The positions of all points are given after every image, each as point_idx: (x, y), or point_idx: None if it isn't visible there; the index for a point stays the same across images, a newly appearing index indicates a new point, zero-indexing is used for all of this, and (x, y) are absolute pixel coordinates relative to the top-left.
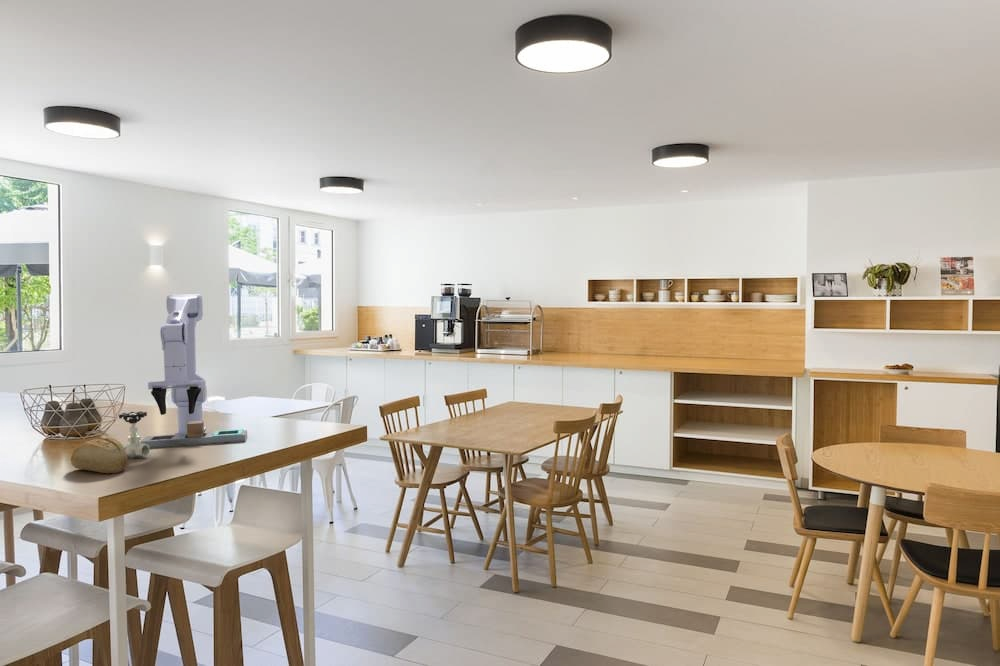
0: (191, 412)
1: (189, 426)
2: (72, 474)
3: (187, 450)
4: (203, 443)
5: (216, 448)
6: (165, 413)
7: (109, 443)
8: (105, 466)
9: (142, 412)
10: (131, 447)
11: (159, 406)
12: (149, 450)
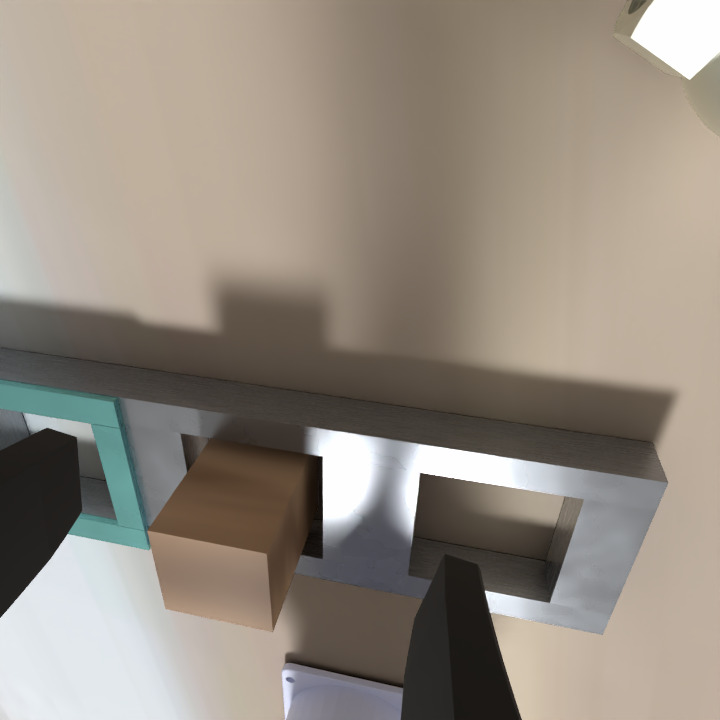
0: (26, 439)
1: (254, 530)
2: None
3: (276, 199)
4: (202, 381)
5: (61, 178)
6: (418, 613)
7: None
8: None
9: None
10: None
11: (493, 691)
12: (615, 30)
